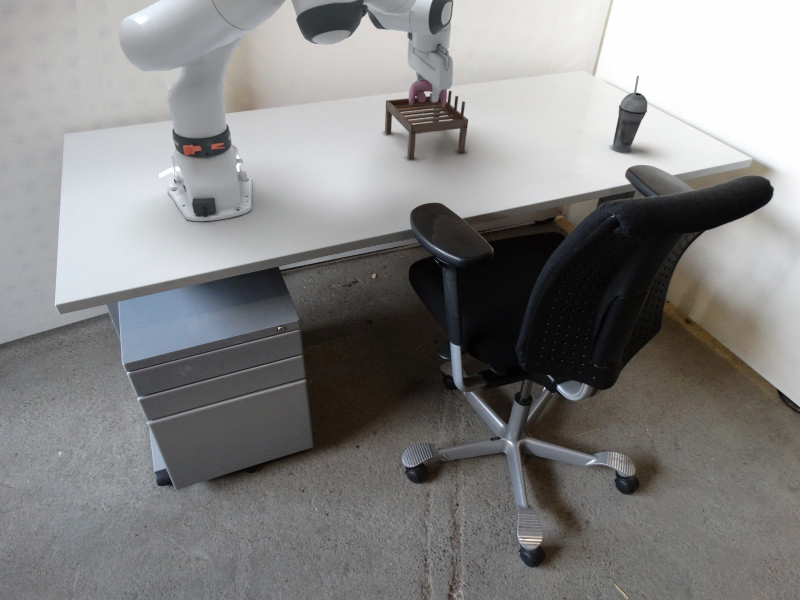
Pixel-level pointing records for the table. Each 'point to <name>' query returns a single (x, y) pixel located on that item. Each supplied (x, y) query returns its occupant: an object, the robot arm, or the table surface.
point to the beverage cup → (629, 120)
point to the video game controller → (418, 91)
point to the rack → (426, 119)
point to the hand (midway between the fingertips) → (427, 95)
